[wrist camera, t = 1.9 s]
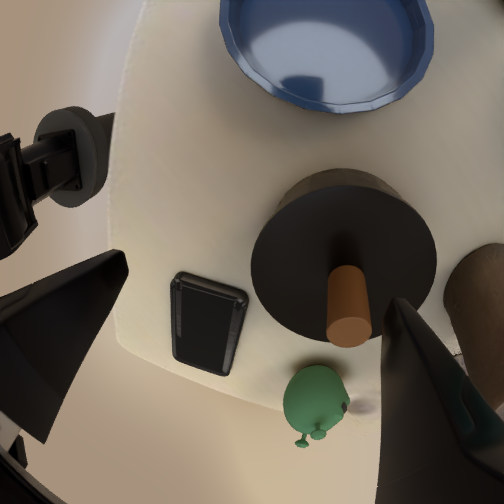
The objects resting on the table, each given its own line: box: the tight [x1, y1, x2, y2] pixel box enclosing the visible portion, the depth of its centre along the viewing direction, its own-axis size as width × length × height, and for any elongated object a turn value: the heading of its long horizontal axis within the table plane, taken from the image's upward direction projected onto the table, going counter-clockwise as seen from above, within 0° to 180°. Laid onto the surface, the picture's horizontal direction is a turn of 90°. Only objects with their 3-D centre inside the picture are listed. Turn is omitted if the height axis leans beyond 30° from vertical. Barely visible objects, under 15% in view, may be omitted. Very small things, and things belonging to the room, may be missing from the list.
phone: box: [170, 272, 249, 377], centre depth 30 cm, size 8×1×15 cm
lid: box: [251, 183, 437, 348], centre depth 16 cm, size 12×12×6 cm
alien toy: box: [283, 365, 350, 448], centre depth 27 cm, size 7×8×10 cm
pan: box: [219, 0, 434, 114], centre depth 12 cm, size 13×13×3 cm
